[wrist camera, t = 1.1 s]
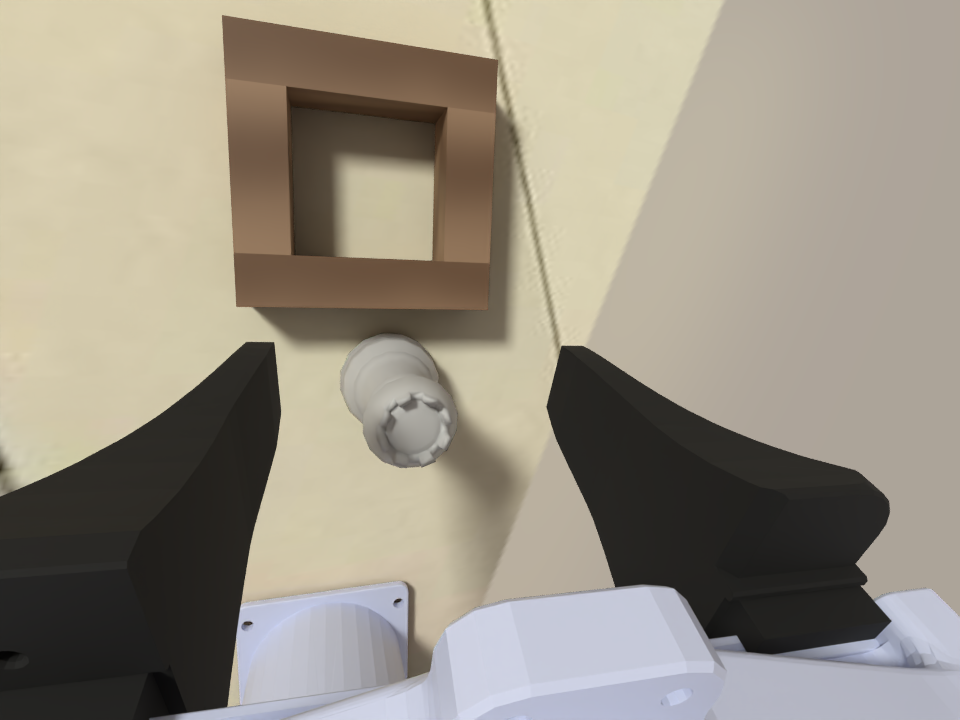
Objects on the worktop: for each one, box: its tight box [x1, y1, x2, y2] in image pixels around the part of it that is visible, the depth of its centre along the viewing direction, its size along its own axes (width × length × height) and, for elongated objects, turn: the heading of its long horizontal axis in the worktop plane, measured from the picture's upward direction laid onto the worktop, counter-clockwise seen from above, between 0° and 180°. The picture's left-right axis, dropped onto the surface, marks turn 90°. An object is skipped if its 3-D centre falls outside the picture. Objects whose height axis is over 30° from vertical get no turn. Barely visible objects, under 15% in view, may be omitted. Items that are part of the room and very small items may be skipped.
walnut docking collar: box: [222, 15, 498, 310], centre depth 21 cm, size 10×10×2 cm
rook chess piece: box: [340, 333, 458, 468], centre depth 20 cm, size 4×4×8 cm
